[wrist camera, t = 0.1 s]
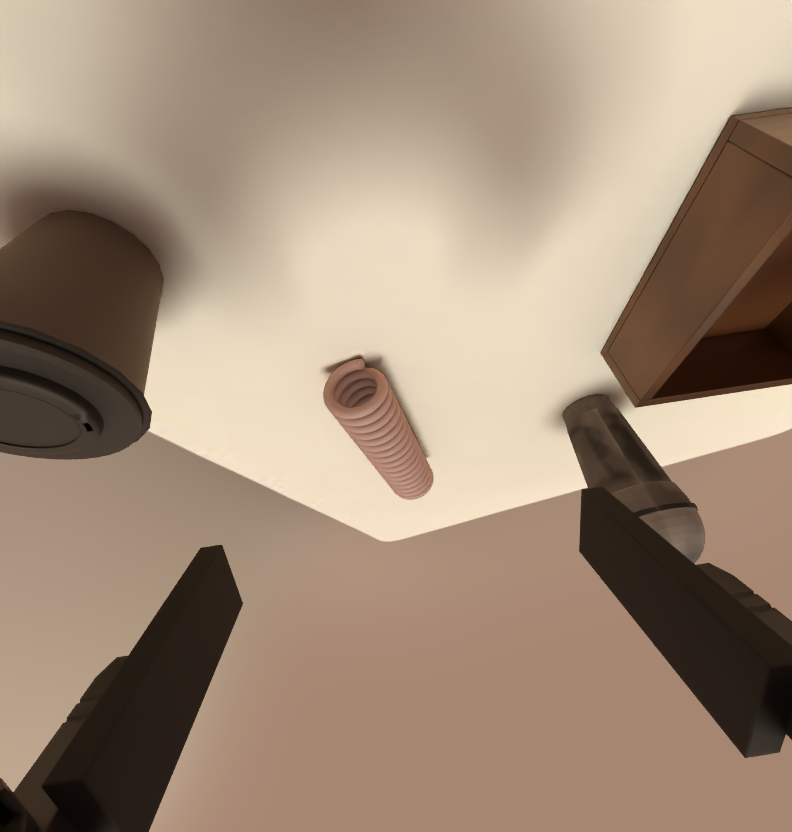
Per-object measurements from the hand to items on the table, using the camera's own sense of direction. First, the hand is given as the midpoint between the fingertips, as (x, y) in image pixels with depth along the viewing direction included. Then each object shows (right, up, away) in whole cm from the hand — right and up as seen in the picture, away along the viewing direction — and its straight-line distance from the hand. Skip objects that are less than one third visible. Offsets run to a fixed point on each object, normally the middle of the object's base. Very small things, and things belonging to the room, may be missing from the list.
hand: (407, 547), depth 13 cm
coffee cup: (-15, +13, +5) cm, 21 cm away
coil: (-1, +4, +20) cm, 21 cm away
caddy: (+22, +15, +10) cm, 29 cm away
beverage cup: (+19, +6, +23) cm, 30 cm away
